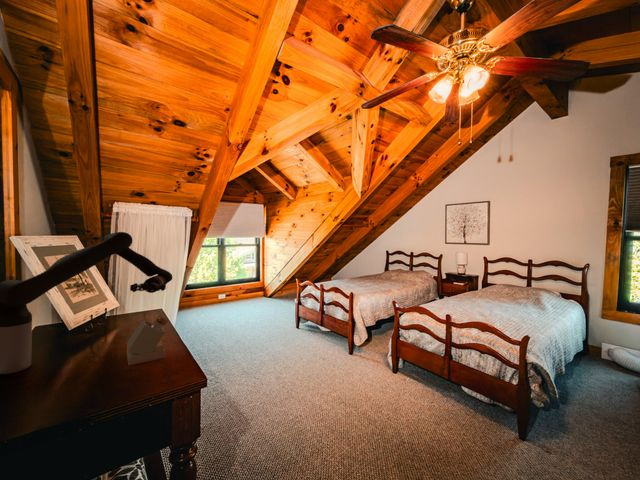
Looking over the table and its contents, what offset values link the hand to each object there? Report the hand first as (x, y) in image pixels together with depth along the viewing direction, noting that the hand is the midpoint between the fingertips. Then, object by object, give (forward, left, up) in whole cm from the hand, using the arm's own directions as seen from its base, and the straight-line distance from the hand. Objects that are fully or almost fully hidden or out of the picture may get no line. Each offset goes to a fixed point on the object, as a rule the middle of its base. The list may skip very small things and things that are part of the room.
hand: (144, 289), depth 128 cm
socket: (0, -13, -26) cm, 29 cm away
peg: (-2, -12, -22) cm, 25 cm away
